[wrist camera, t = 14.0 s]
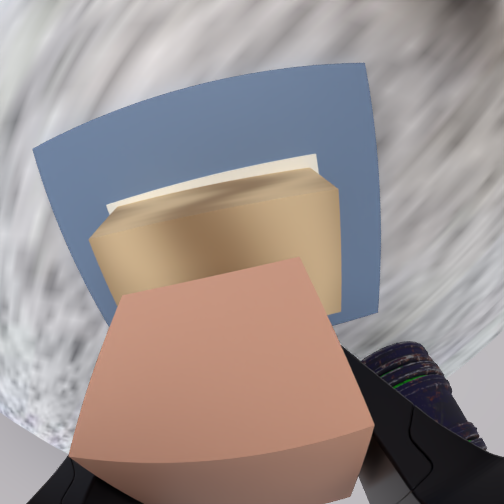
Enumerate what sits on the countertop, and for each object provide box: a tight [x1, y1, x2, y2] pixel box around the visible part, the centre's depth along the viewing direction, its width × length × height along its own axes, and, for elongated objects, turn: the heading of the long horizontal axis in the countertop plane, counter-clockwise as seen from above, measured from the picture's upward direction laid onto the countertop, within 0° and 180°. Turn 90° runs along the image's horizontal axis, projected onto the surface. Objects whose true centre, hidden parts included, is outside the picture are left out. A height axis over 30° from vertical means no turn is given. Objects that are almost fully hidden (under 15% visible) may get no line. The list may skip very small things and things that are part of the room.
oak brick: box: [89, 167, 342, 315], centre depth 14 cm, size 10×6×4 cm, turn 100°
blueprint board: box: [33, 63, 381, 327], centre depth 16 cm, size 18×16×1 cm
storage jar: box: [361, 341, 487, 451], centre depth 18 cm, size 10×10×15 cm
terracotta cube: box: [69, 257, 375, 504], centre depth 7 cm, size 5×5×5 cm
